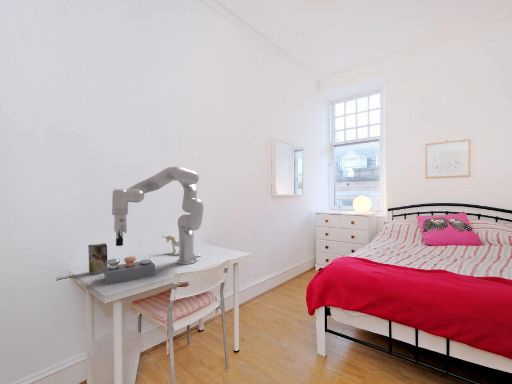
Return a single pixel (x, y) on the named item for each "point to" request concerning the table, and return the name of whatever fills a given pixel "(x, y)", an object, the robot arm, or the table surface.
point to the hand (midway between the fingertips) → (119, 245)
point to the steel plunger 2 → (145, 262)
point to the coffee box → (97, 258)
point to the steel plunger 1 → (113, 263)
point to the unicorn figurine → (174, 242)
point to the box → (128, 272)
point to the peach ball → (129, 261)
